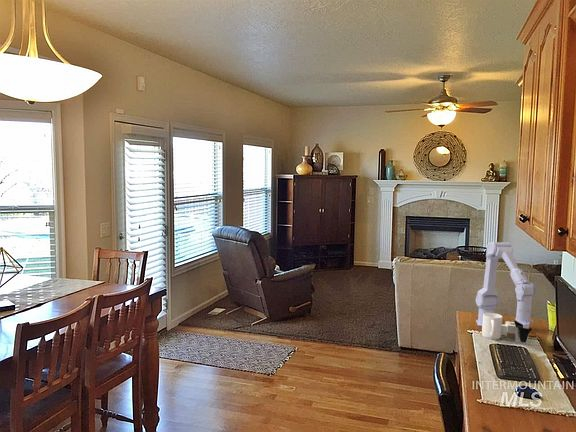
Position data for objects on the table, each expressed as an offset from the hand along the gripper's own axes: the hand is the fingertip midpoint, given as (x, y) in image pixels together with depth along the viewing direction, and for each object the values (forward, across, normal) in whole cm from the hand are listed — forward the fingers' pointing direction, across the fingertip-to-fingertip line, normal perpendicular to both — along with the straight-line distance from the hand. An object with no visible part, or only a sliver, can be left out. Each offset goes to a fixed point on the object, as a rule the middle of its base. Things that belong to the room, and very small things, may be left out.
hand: (521, 339), depth 213 cm
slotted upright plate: (+2, +11, +5) cm, 12 cm away
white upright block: (+2, 0, 0) cm, 2 cm away
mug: (+2, +3, +12) cm, 13 cm away
